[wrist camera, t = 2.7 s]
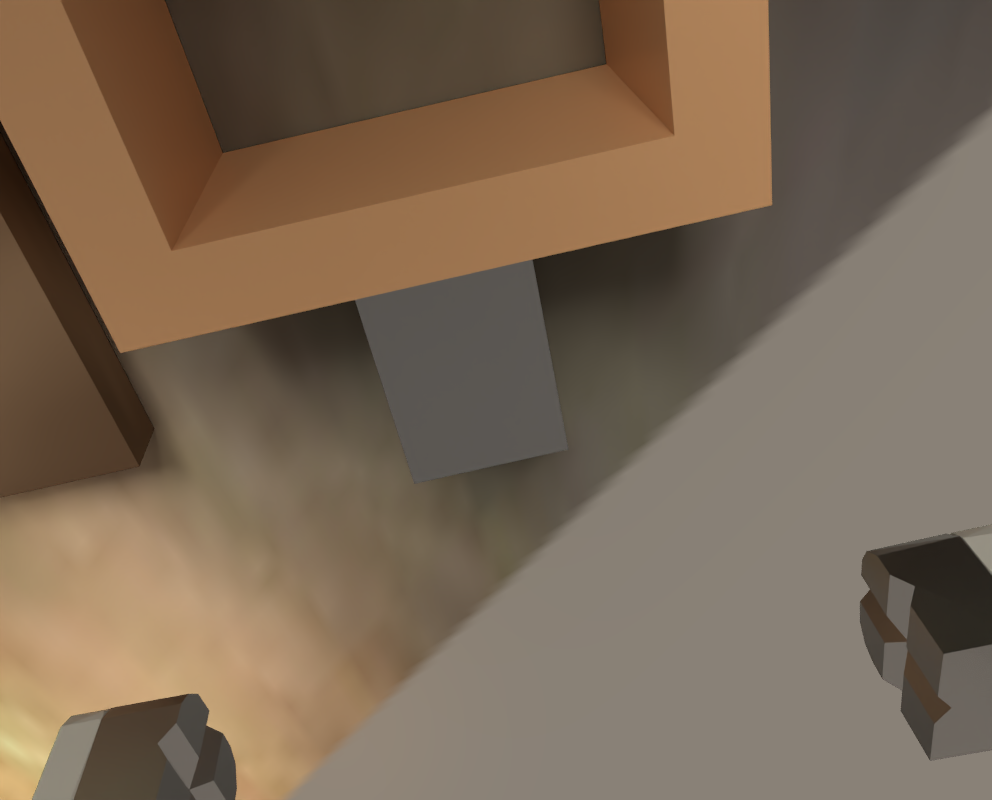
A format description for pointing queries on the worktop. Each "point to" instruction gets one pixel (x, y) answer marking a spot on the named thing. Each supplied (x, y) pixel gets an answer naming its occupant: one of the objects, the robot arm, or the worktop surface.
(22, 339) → the post base
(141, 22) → the collar
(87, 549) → the worktop surface
